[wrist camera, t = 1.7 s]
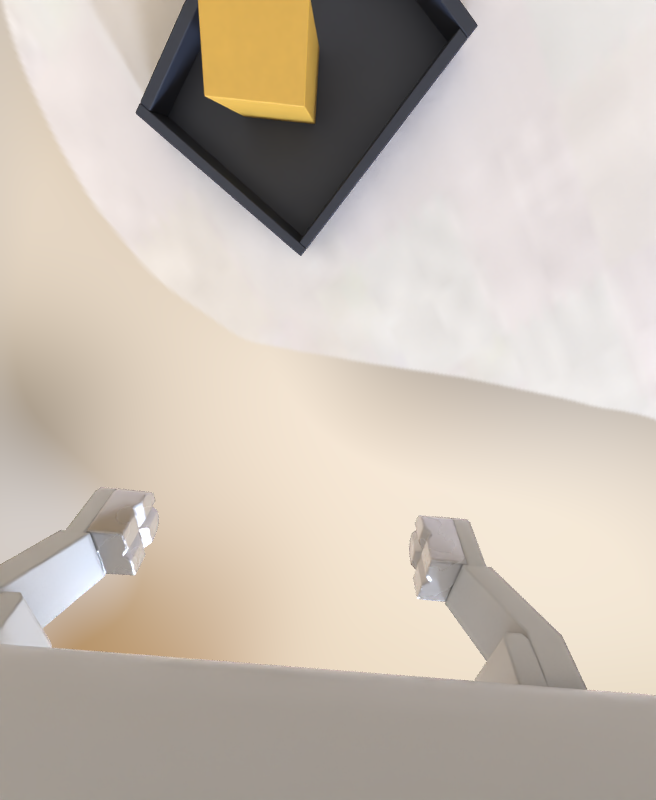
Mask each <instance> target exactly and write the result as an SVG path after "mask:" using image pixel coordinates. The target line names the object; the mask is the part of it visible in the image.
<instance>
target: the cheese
mask: <svg viewBox="0 0 656 800" xmlns="http://www.w3.org/2000/svg"><path fill="white" fill-rule="evenodd" d="M198 8H199V23H200V38H201V53H202V67H203V82H204V95H205V97H207V98H209V99H211V100H213V101H215V102H217V103H219V104H221V105H223V106H225V107H227V108H229V109H231V110H233V111H235V112H237V113H239V114H241V115H242V116H244V117H253V118H262V119H272V120H281V121H290V122H300V123H309V124H315V118H316V101H317V83H318V66H319V44H318V38H317V33H316V27H315V22H314V16H313V11H312V5H311V0H198Z"/></svg>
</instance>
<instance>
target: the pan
mask: <svg viewBox="0 0 656 800" xmlns="http://www.w3.org/2000/svg"><path fill="white" fill-rule="evenodd" d="M311 5H312V11H313V16H314V22H315V27H316V33H317V38H318V44H319V66H318V83H317V101H316V118H315V124H309V123H300V122H290V121H281V120H272V119H262V118H253V117H244V116H242V115H241V114H239V113H237V112H235V111H233V110H231V109H229V108H227V107H225V106H223V105H221V104H219V103H217V102H215V101H213V100H211V99H209V98H207V97H205V95H204V82H203V67H202V53H201V38H200V23H199V8H198V0H186V1H185V3H184V5H183V7H182V10H181V12H180V14H179V16H178V19H177V21H176V23H175V25H174V28H173V30H172V32H171V34H170V37H169V39H168V41H167V43H166V45H165V48H164V50H163V52H162V54H161V57H160V59H159V61H158V63H157V66H156V68H155V70H154V72H153V75H152V77H151V79H150V81H149V84H148V86H147V88H146V90H145V93H144V95H143V97H142V99H141V103H140V104H139V106H138V108H137V111H136V114H137V115H138V116H139V117H140V118H142V119H143V120H144V121H145V122H146V123H147V124H149V125H150V126H151V127H152V128H153V129H154V130H155V131H157V132H158V133H159V134H160V135H161V136H162V137H164V138H165V139H166V140H167V141H168V142H169V143H170V144H172V145H173V146H174V147H175V148H176V149H177V150H179V151H180V152H181V153H182V154H183V155H184V156H186V157H187V158H188V159H189V160H190V161H191V162H192V163H194V164H195V165H196V166H197V167H198V168H199V169H201V170H202V171H203V172H204V173H205V174H206V175H207V176H209V177H210V178H211V179H212V180H213V181H214V182H216V183H217V184H218V185H219V186H220V187H221V188H223V189H224V190H225V191H226V192H227V193H228V194H229V195H231V196H232V197H233V198H234V199H235V200H236V201H238V202H239V203H240V204H241V205H242V206H243V207H244V208H246V209H247V210H248V211H249V212H250V213H251V214H253V215H254V216H255V217H256V218H257V219H258V220H260V221H261V222H262V223H263V224H264V225H265V226H266V227H268V228H269V229H270V230H271V231H272V232H273V233H275V234H276V235H277V236H278V237H279V238H280V239H281V240H283V241H284V242H285V243H286V244H287V245H288V246H290V247H291V248H292V249H293V250H294V251H295V252H297V253H298V254H299V255H300V256H301V255H302V254H303V253H304V252H305V250H306V248H308V246H309V245H310V244H311V242H312V241H313V240H314V239H315V237H316V236H317V235H318V233H319V232H320V231H321V229H322V228H323V227H324V225H325V224H326V223H327V222H328V220H329V219H330V218H331V216H332V215H333V214H334V212H335V211H336V210H337V209H338V207H339V206H340V205H341V203H342V202H343V201H344V199H345V198H346V197H347V195H348V194H349V193H350V192H351V190H352V189H353V188H354V186H355V185H356V184H357V182H358V181H359V180H360V179H361V177H362V176H363V175H364V173H365V172H366V171H367V169H368V168H369V167H370V165H371V164H372V163H373V162H374V160H375V159H376V158H377V156H378V155H379V154H380V152H381V151H382V150H383V148H384V147H385V146H386V145H387V143H388V142H389V141H390V139H391V138H392V137H393V135H394V134H395V133H396V132H397V130H398V129H399V128H400V126H401V125H402V124H403V122H404V121H405V120H406V118H407V117H408V116H409V115H410V113H411V112H412V111H413V109H414V108H415V107H416V105H417V104H418V103H419V101H420V100H421V99H422V98H423V96H424V95H425V94H426V92H427V91H428V90H429V88H430V87H431V86H432V85H433V83H434V82H435V81H436V79H437V78H438V77H439V75H440V74H441V73H442V71H443V70H444V69H445V68H446V66H447V65H448V64H449V62H450V61H451V60H452V58H453V57H454V56H455V55H456V53H457V52H458V51H459V49H460V48H461V47H462V45H463V44H464V43H465V41H466V40H467V39H468V38H469V36H470V35H471V34H472V32H473V31H474V30H475V28H476V27H477V24H476V22H475V21H474V19H473V18H472V17H471V15H470V14H469V12H468V11H467V10H466V8H465V7H464V6H463V4H462V3H461V1H460V0H311Z"/></svg>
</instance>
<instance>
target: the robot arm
mask: <svg viewBox="0 0 656 800" xmlns="http://www.w3.org/2000/svg"><path fill="white" fill-rule="evenodd" d="M154 502H155V497H154V494H153V493H152V492H145V491H135V490H127V489H119V488H118V489H116V488H107V487H100V488H99V489H98V490H96V491H95V492H94V494H93V495H92V496H91V497H90V499H89V500H88V501H87V503H86V504H85V505H84V507H83V508H82V509H81V511H80V512H79V513H78V514H77V516H76V517H75V518H74V520H73V521H72V522H71V524H70V525H69V526H68V528H67V529H66V530H65V531H64V530H60V531H58V532H56V533H54V534H53V535H51V536H49V537H47V538H46V539H44V540H42V541H40V542H39V543H37V544H35V545H34V546H32V547H30V548H28V549H27V550H25V551H23V552H21V553H20V554H18V555H16V556H14V557H13V558H11V559H9V560H7V561H6V562H4V563H2V564H0V800H656V695H647V694H633V693H622V692H609V691H596V690H587V688H586V686H585V684H584V682H583V680H582V677H581V675H580V673H579V671H578V669H577V667H576V665H575V662H574V660H573V658H572V656H571V654H570V652H569V650H568V648H567V645H566V643H565V641H564V639H563V637H562V635H561V634H560V633H559V632H558V631H556V629H554V628H553V627H552V626H551V625H550V624H549V623H548V622H547V621H546V620H545V619H544V618H543V617H542V616H541V615H540V614H539V613H538V612H537V611H536V610H535V609H534V608H533V607H532V606H531V605H530V604H529V603H528V602H527V601H526V600H524V598H522V597H521V596H520V595H519V594H518V593H517V592H516V591H515V590H514V589H513V588H512V587H511V586H510V585H509V584H508V583H507V582H506V581H505V580H504V579H503V578H502V577H501V576H500V575H499V574H498V573H497V572H495V570H493V568H491V567H486V564H485V562H484V559H483V557H482V554H481V551H480V548H479V545H478V543H477V540H476V537H475V535H474V532H473V529H472V527H471V524H470V522H469V521H468V520H467V519H456V518H446V517H433V516H418V517H417V519H416V522H415V526H416V531H414V532H413V533H412V535H411V538H410V546H409V555H410V562H411V565H412V566H413V567H414V568H415V569H416V571H415V574H414V577H413V579H414V585H415V590H416V596H417V599H424V600H432V601H441V602H442V601H443V602H445V604H446V606H447V607H448V608H449V610H450V611H451V612H452V614H453V615H454V617H455V618H456V619H457V621H458V622H459V623H460V625H461V626H462V628H463V629H464V630H465V632H466V633H467V634H468V636H469V637H470V639H471V640H472V642H473V643H474V644H475V646H476V647H477V649H478V650H479V651H480V653H481V654H482V655H483V657H484V658H485V660H486V661H487V662H486V664H485V665H484V666H483V668H482V670H481V671H480V672H479V674H478V675H477V677H476V678H475V681H468V680H455V679H441V678H430V677H417V676H404V675H391V674H379V673H366V672H354V671H341V670H328V669H316V668H304V667H291V666H277V665H266V664H252V663H240V662H227V661H215V660H202V659H189V658H175V657H162V656H151V655H138V654H125V653H112V652H99V651H86V650H74V649H61V648H51V647H52V646H51V642H50V640H49V638H48V637H47V635H46V633H45V632H44V630H43V627H45V626H46V625H47V624H48V623H49V622H50V621H52V620H53V619H54V618H55V617H56V616H57V615H59V614H60V613H61V612H62V611H64V610H65V609H66V608H67V607H68V606H69V605H71V604H72V603H73V602H74V601H75V600H77V599H78V598H79V597H80V596H81V595H83V594H84V593H85V592H86V591H87V590H89V589H90V588H91V587H92V586H93V585H95V584H96V583H97V582H98V581H99V580H100V579H102V578H103V577H104V576H105V574H122V575H135V574H136V572H137V570H138V569H139V567H140V565H141V563H142V561H143V559H144V557H145V552H144V547H146V546H147V545H148V544H150V543H151V542H152V541H153V539H154V537H155V535H156V532H157V528H158V524H159V515H158V511H157V510H156V509H155V508H154V507H153V504H154Z"/></svg>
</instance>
